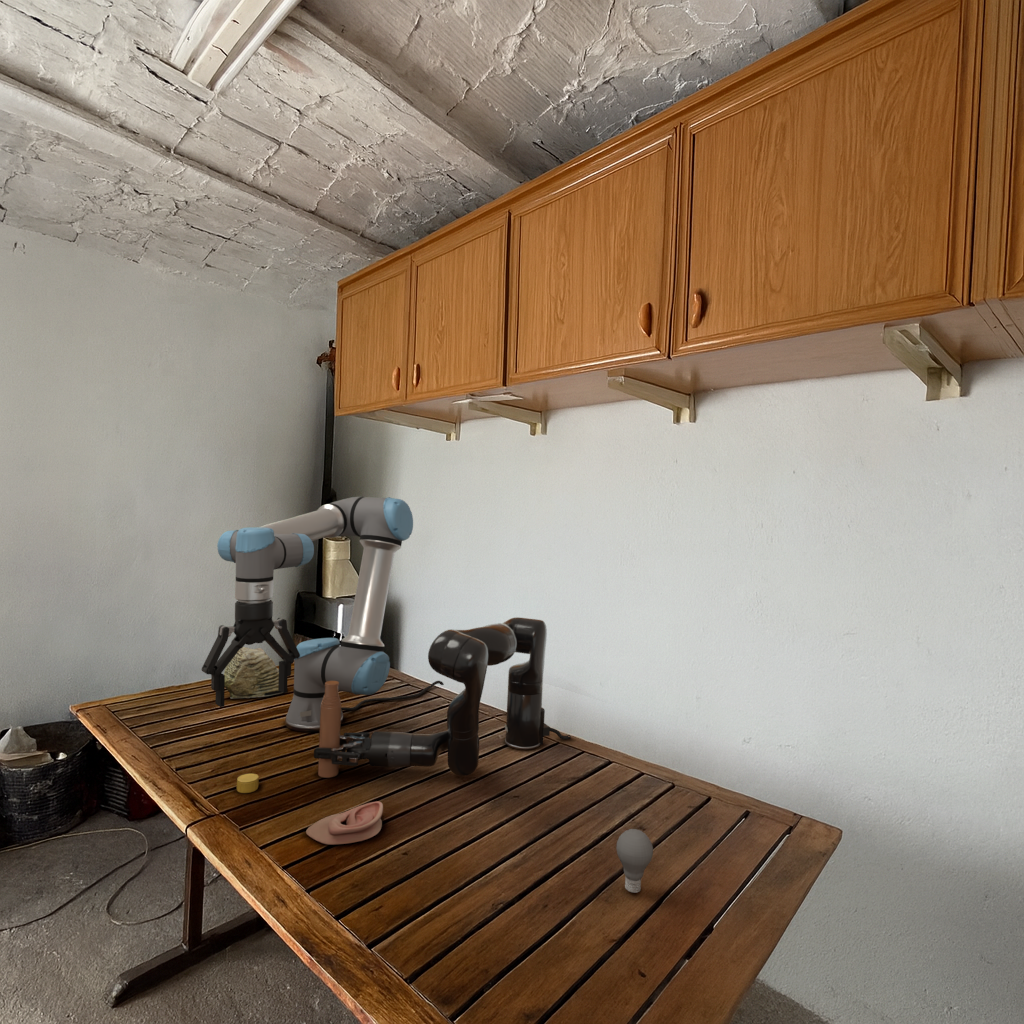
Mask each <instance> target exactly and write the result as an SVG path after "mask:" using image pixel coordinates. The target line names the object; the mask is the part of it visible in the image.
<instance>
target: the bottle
mask: <svg viewBox="0 0 1024 1024" xmlns="http://www.w3.org/2000/svg"><path fill="white" fill-rule="evenodd" d="M338 690H339V682H338V681H327V682H325V695H324V697H323V700H322V702H321V709H320V731H319V736H318V738H319V739H318V748H337V747H340V736H341V726H342V723H341V707H342V701H341V697H340V694H339V691H338ZM339 752H341V751H339ZM317 762H318V763H317V775H318V776H319V777H321V778H323V779H324V778H327V779H328V778H334V777H336V776H338V775H339V773H340V765H337V764H332V761H331V759H318V761H317Z"/></svg>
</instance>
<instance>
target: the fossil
mask: <svg viewBox="0 0 1024 1024" xmlns="http://www.w3.org/2000/svg"><path fill="white" fill-rule="evenodd" d="M223 674H224V675H225V690H226V691H228V693H229V698H230V699H250V698H264V697H271V696H275V695H281V694H284V693H283V692H281V691H279V690H278V685H279V667H277V665H276V663H275V662H274V660H273V659H272V658H271V657H270V656H269V655H268V654H267V653H266V652H265V650H264V649H263V648H260V647H258V648H251V647H247V646H246V647H245V646H243V647H242V648H241V649H240V650H239V651H238V652H237V654H236V655H235V656H234V657H233V659H232V660H231V661H230V663H229V664H228V665H227V666H226V668H225V669H224V671H223Z"/></svg>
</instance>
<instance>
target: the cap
mask: <svg viewBox="0 0 1024 1024" xmlns="http://www.w3.org/2000/svg"><path fill="white" fill-rule="evenodd" d="M259 780H260V778H259V775H258V774H256V773H244V774H242V775H239V776H238V777H237V778H236V791H237V792H238V793H241V794H250V793H253V792H255V791H257V790H258V788H259V786H260V785H259V783H260V781H259Z"/></svg>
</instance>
